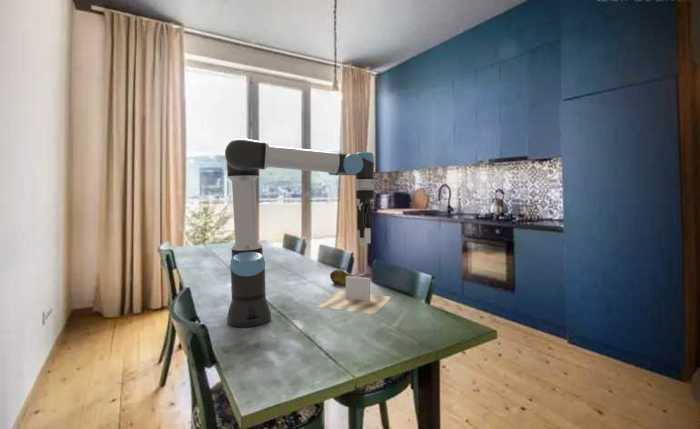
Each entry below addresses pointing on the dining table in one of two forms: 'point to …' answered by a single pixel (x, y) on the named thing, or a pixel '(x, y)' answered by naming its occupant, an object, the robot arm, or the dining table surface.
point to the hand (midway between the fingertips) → (365, 244)
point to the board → (355, 303)
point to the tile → (358, 288)
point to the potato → (339, 277)
